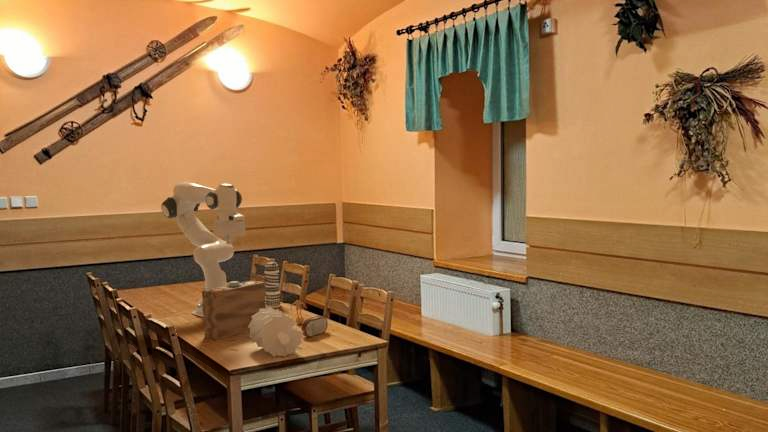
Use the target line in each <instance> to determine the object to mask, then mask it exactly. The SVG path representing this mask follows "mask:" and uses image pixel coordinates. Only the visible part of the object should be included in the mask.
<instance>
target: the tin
mask: <svg viewBox="0 0 768 432" xmlns="http://www.w3.org/2000/svg"><path fill="white" fill-rule="evenodd" d="M327 329H328V320H327V318H326V316H325V317H324V316H322V315H316V316H313V317H309V318H307V319H304V322H303V323H302V324H301V331H303V335H302V336H304V337H307V338H312V337H315V336H319V335H322V334H324V333H326V331H327Z"/></svg>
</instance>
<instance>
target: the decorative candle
mask: <svg viewBox="0 0 768 432" xmlns="http://www.w3.org/2000/svg"><path fill="white" fill-rule="evenodd" d="M280 274H281V272H280V271H279V264H278V263H277V262H275V261H267V262H266V263H265V264H264V272H263V282H264V284H265V304H266V309H268V307H271V308H273V309H275V308H279V307H282V305H281V303H282V302H281V301H282V300H281V292H280V286H281V284H280V283H281V281H280V280H281V278H279V277H281V275H280Z"/></svg>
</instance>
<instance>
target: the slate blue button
mask: <svg viewBox="0 0 768 432" xmlns="http://www.w3.org/2000/svg"><path fill="white" fill-rule="evenodd" d="M239 283H240V281H237V280H234V281H229V282H228V285H229V287H230V288H235V287H239Z"/></svg>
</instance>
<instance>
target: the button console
mask: <svg viewBox="0 0 768 432" xmlns="http://www.w3.org/2000/svg"><path fill="white" fill-rule="evenodd" d="M248 282H255V283H254V284H250V285H249V284H245V283H248ZM264 283H265V281H256V280H248V281H247V280H246V281H244V282H239V287H235V288H230V287H229V284H228V285H226V286H223V287H218V288H213V289H208V290H205V289H202V291H201V293H202V294H201V295H202V297H201V298H203V317H202V318H203V330H204V333H203V334H204V338H208V339H214V340H222V339H226V338H229V337H230V338H231V337H233V336H236V335H239V334H244V333H247V332H250V328H248V326H249V324H250V322H251V321H252V317H251V316H253V315H254V314H256V313H258V312H259V309H267V307H266V298H265V297H266V296H265V295H266V287H265V284H264ZM214 289H223V290H221V291H212V290H214Z"/></svg>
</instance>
